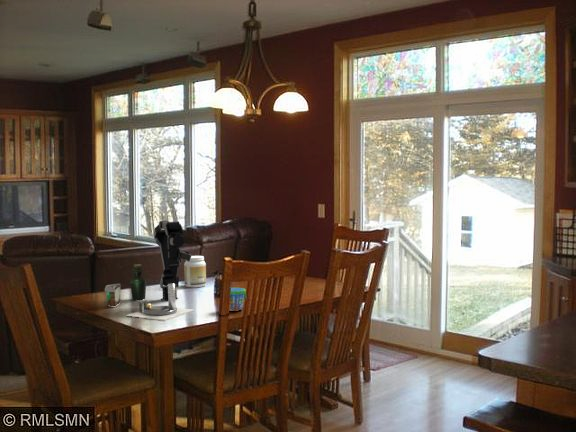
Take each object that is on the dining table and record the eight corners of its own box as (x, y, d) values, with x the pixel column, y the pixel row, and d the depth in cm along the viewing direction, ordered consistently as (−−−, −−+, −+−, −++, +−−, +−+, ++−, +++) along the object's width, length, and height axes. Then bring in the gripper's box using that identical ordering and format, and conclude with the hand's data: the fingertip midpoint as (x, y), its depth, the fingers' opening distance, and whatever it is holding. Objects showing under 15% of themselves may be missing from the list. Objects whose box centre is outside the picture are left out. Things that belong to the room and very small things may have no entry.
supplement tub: (210, 285, 373) (209, 256, 372) (197, 288, 362) (196, 258, 361) (193, 283, 379) (193, 254, 378) (180, 286, 369) (179, 257, 368)
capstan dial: (139, 311, 301) (138, 282, 300) (169, 306, 309) (168, 279, 308) (151, 316, 289) (150, 287, 288) (182, 312, 297) (181, 284, 296)
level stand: (126, 316, 294) (125, 305, 294) (156, 307, 314) (155, 296, 313) (165, 320, 284) (164, 308, 284) (193, 310, 304) (193, 299, 304)
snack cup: (238, 306, 313) (237, 285, 312) (254, 309, 306) (253, 287, 305) (214, 312, 301) (214, 290, 300) (230, 315, 294) (230, 292, 294)
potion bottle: (139, 297, 339) (138, 263, 338) (150, 298, 335) (149, 264, 334) (127, 299, 333) (126, 265, 331) (138, 301, 328) (137, 266, 327)
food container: (108, 303, 325) (108, 283, 324) (121, 303, 325) (120, 283, 324) (102, 308, 312) (101, 288, 312) (114, 308, 312) (114, 287, 312)
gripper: (189, 246, 311) (190, 279, 311) (191, 245, 329) (192, 276, 329) (165, 248, 310) (167, 280, 309) (169, 246, 328) (170, 277, 328)
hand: (175, 278), depth 319 cm, fingers closed
